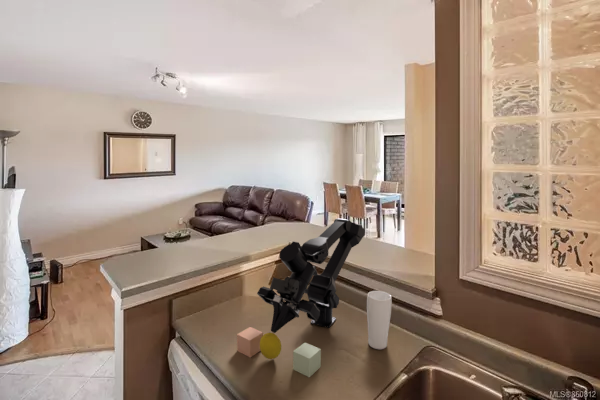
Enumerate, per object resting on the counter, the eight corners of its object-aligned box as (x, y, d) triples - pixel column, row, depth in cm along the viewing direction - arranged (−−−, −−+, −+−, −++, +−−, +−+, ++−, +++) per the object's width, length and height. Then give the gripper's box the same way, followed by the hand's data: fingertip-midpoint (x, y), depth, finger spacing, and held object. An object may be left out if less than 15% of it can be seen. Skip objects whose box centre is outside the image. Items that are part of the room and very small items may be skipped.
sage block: (304, 359, 85) (304, 342, 84) (320, 367, 82) (320, 349, 81) (293, 369, 81) (293, 351, 80) (309, 377, 78) (309, 358, 77)
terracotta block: (250, 342, 93) (250, 326, 92) (262, 349, 90) (262, 332, 89) (237, 351, 89) (237, 334, 88) (250, 357, 86) (249, 340, 85)
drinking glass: (391, 341, 93) (393, 292, 92) (387, 354, 87) (389, 302, 86) (368, 336, 96) (370, 288, 94) (362, 348, 90) (364, 297, 88)
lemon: (282, 365, 82) (274, 344, 79) (261, 365, 84) (253, 344, 80) (286, 347, 87) (279, 326, 84) (267, 347, 88) (259, 326, 85)
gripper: (262, 259, 92) (232, 308, 84) (315, 272, 81) (287, 331, 73) (279, 278, 99) (253, 325, 91) (330, 293, 88) (306, 349, 80)
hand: (272, 332), depth 84 cm, fingers closed, pressing on lemon
